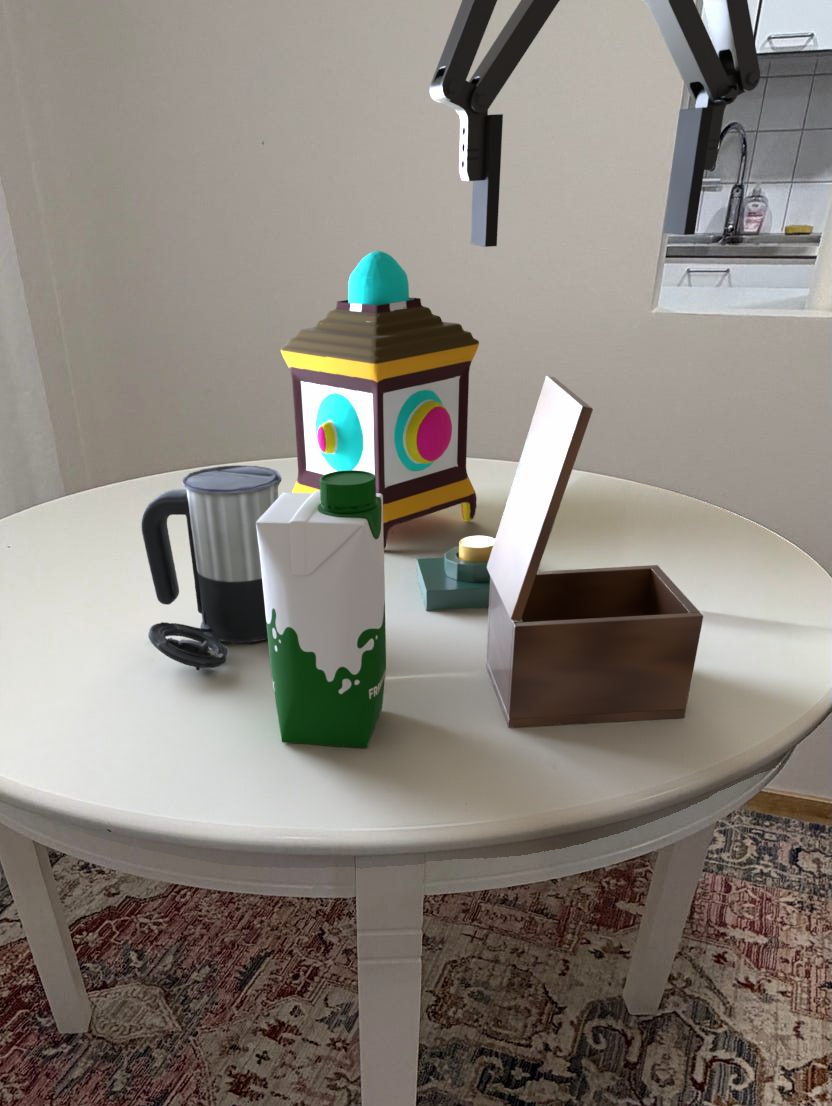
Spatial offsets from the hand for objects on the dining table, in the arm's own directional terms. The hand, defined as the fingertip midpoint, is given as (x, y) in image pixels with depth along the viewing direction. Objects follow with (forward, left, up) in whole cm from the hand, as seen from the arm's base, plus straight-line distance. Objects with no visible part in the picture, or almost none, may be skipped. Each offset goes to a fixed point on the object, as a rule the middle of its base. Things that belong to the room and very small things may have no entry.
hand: (582, 240), depth 61 cm
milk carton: (+15, +10, -34) cm, 38 cm away
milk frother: (+33, -1, -34) cm, 47 cm away
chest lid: (+2, -1, -17) cm, 17 cm away
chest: (-2, -4, -33) cm, 34 cm away
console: (+15, -23, -33) cm, 43 cm away
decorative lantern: (+35, -41, -34) cm, 63 cm away
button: (+15, -23, -30) cm, 40 cm away
